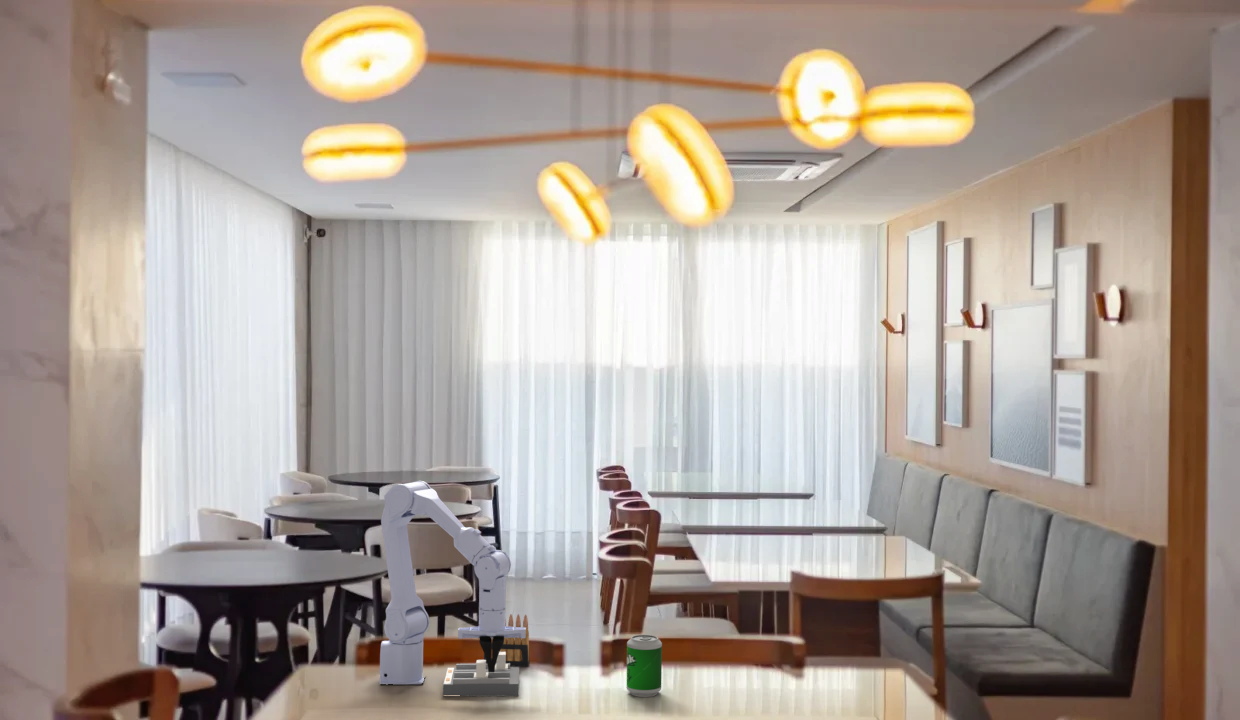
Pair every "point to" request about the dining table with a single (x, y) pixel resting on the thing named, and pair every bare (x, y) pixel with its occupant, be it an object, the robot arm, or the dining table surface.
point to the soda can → (644, 665)
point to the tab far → (501, 661)
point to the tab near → (481, 669)
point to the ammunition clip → (516, 645)
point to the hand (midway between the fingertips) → (491, 671)
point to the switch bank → (481, 681)
